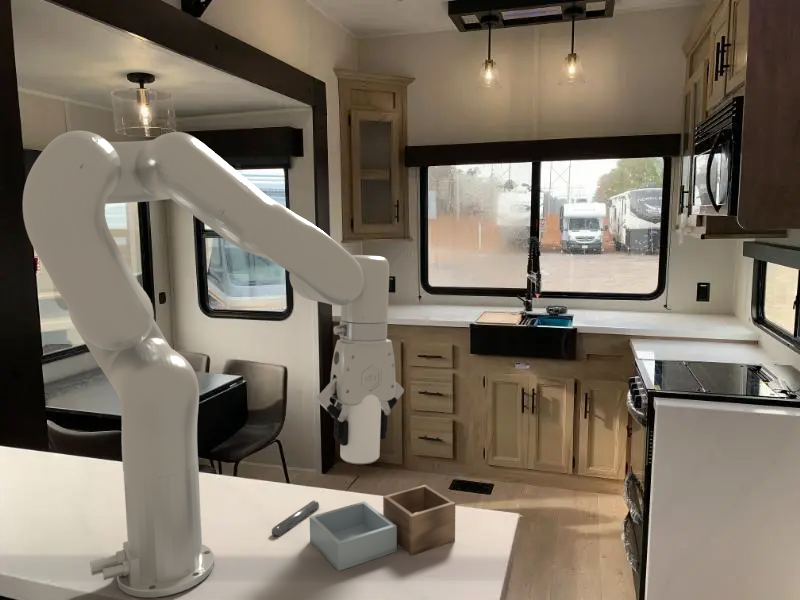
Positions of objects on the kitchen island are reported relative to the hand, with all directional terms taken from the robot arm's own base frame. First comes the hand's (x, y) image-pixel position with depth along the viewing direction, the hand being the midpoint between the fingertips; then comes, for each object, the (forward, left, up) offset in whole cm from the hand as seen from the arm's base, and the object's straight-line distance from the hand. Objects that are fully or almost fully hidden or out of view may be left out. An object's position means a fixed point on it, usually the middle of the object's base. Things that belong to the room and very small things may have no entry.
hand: (360, 439), depth 99 cm
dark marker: (-10, +4, -13) cm, 17 cm away
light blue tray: (-6, -8, -13) cm, 17 cm away
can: (0, 0, -3) cm, 3 cm away
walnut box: (+4, -11, -13) cm, 18 cm away
